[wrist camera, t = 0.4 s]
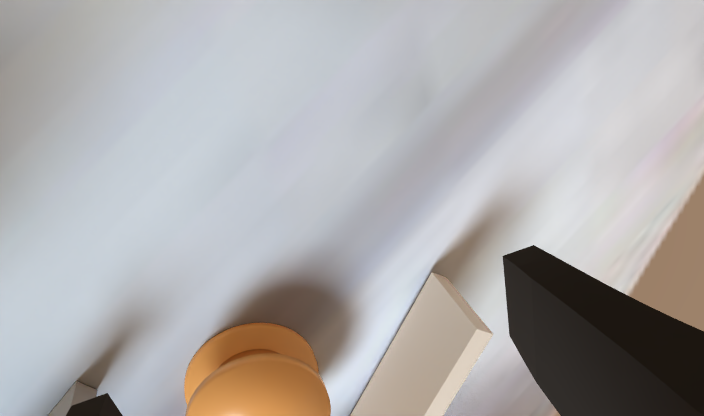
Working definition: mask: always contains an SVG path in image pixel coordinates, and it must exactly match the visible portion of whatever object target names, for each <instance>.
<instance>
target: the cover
mask: <svg viewBox="0 0 704 416" xmlns="http://www.w3.org/2000/svg"><path fill="white" fill-rule="evenodd" d="M492 335H493V333H492V332H491V331H490V330H489V328H488V327H487V326H486V325H485V324H484V322H483V321H482V320H481V319H480V318H479V316H478V315H477V314H476V313H475V312H474V310H473V309H472V308H471V307H470V305H469V304H468V303H467V302H466V301H465V299H464V298H463V297H462V296H461V295H460V293H459V292H458V291H457V290H456V289H455V287H454V286H453V285H452V284H451V283H450V281H449V280H448V279H447V278H446V277H444V276H441V275H438V274H435V273H431V274H430V276H429V278H428V280H427V281H426V283H425V285H424V287H423V289H422V290H421V292H420V294H419V296H418V297H417V299H416V301H415V303H414V304H413V306H412V308H411V310H410V311H409V313H408V315H407V317H406V318H405V320H404V322H403V324H402V326H401V327H400V329H399V331H398V333H397V334H396V336H395V338H394V340H393V341H392V343H391V345H390V347H389V348H388V350H387V352H386V354H385V355H384V357H383V359H382V361H381V362H380V364H379V366H378V368H377V370H376V371H375V373H374V375H373V377H372V378H371V380H370V382H369V384H368V385H367V387H366V389H365V391H364V392H363V394H362V396H361V398H360V399H359V401H358V403H357V405H356V407H355V408H354V410H353V412H352V414H351V415H350V416H443V415H444V413H445V412H446V410H447V408H448V407H449V405H450V403H451V402H452V400H453V399H454V397H455V395H456V394H457V392H458V390H459V389H460V387H461V386H462V384H463V382H464V381H465V379H466V378H467V376H468V374H469V373H470V371H471V369H472V368H473V366H474V365H475V363H476V361H477V360H478V358H479V356H480V355H481V353H482V352H483V350H484V348H485V347H486V345H487V344H488V342H489V340H490V339H491V337H492Z"/></svg>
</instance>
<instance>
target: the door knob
mask: <svg viewBox="0 0 704 416" xmlns="http://www.w3.org/2000/svg"><path fill="white" fill-rule="evenodd" d="M184 388H185V399H186V403H187V410H186V416H330V412H331V406H330V400H329V396H328V393H327V390H326V388H325V385H324V382H323V380H322V379H321V377H320V376H319V374H318V365H317V361H316V358H315V356H314V353H313V350H312V349H311V347H310V345H309V344H308V343H307V341H306V340H305V339H304V338H303V337H302V336H301V335H299V334H298V333H296V332H295V331H293V330H291V329H289V328H287V327H284V326H281V325H277V324H272V323H249V324H243V325H239V326H235V327H233V328H230V329H227V330H225V331H223V332H221V333H219V334H217V335H216V336H214V337H213V338H211V339H210V340H209V341H207V342H206V343H205V344H204V345H203V346H202V347H201V348H200V349H199V350H198V351H197V352H196V354H195V355H194V356H193V358H192V360H191V362H190V363H189V366H188V368H187V371H186V375H185V385H184Z"/></svg>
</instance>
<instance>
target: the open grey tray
mask: <svg viewBox="0 0 704 416" xmlns="http://www.w3.org/2000/svg"><path fill="white" fill-rule="evenodd" d="M96 395H97V390H96V389H94V388H91V387H89V386H87V385H84V384H82V383H80V382H77V381H76V382H75V383H74V385H73V386H72V387H71V388H70V389H69V391H68V392H67V393H66V394H65V395H64V397H63V398H62V399H61V400H60V402H59V403H58V404H57V405H56V406H55V408H54V409H53V410H52V411H51V413H50V414H49V415H48V416H66V414H67V413H68V411H69V409H70V407H71V406H72V405H75V404H78V403H81V402H83V401H86V400H89V399H92V398H95V397H96Z"/></svg>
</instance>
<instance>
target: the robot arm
mask: <svg viewBox="0 0 704 416" xmlns="http://www.w3.org/2000/svg"><path fill="white" fill-rule="evenodd" d="M503 264H504V276H505V287H506V299H507V310H508V322H509V334H510V337H511V339H512V341H513V342H514V344H515V346H516V348H517V349H518V351H519V353H520V355H521V357H522V358H523V360H524V362H525V364H526V365H527V367H528V369H529V370H530V372H531V374H532V376H533V377H534V379H535V381H536V382H537V384H538V385H539V387H540V388H541V389H542V391H543V392H544V393H545V395H546V396H547V398H548V399H549V400H550V402H551V403H552V404H553V406H554V407H555V408H556V410H557V411H558V412H559V414H560V415H561V416H704V331H701V330H699V329H697V328H695V327H692V326H690V325H688V324H686V323H683V322H681V321H679V320H677V319H674V318H672V317H670V316H668V315H666V314H664V313H662V312H660V311H658V310H655V309H653V308H651V307H649V306H647V305H645V304H643V303H641V302H639V301H637V300H635V299H633V298H631V297H629V296H627V295H625V294H623V293H621V292H619V291H618V290H616V289H614V288H612V287H610V286H608V285H606V284H604V283H602V282H600V281H599V280H597V279H595V278H593V277H591V276H589V275H588V274H586V273H584V272H582V271H580V270H578V269H576V268H575V267H573V266H571V265H569V264H567V263H566V262H564V261H562V260H560V259H558V258H556V257H555V256H553V255H551V254H549V253H547V252H545V251H544V250H542V249H540V248H538V247H536V246H534V245H533V246H530V247H527V248H524V249H522V250H519V251H516V252H513V253H510V254H507V255H504V256H503ZM66 416H122V414H121V413H120V411H119V410H118V408H117V407H116V405H115V404H114V402H113V401H112V399H111V398H110V396H109V395H108V393H106V394H104V395H101V396H98V397H95V398H92V399H89V400H86V401H83V402H81V403H78V404H75V405H72V406H71V407H70V409H69V411H68V413H67V414H66Z"/></svg>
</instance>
